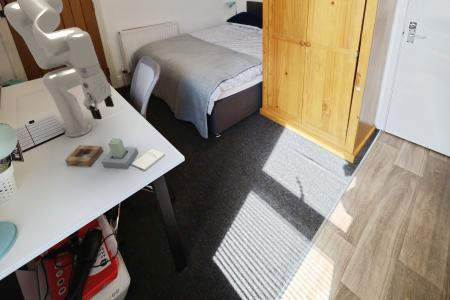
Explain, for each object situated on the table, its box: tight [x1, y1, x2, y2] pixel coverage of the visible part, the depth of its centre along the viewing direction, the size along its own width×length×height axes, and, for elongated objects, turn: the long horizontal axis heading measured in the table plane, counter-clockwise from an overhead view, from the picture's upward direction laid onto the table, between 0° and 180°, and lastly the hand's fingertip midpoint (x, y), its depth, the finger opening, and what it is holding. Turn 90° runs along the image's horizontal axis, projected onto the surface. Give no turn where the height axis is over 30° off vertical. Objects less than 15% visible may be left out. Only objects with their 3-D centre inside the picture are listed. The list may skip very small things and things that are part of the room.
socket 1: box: [65, 144, 104, 168], centre depth 124 cm, size 11×11×3 cm
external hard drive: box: [130, 148, 166, 172], centre depth 121 cm, size 2×8×12 cm
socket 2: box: [101, 146, 139, 170], centre depth 121 cm, size 11×11×3 cm
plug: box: [107, 137, 126, 159], centre depth 119 cm, size 4×4×10 cm
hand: (104, 112), depth 109 cm, fingers open, 9 cm apart
